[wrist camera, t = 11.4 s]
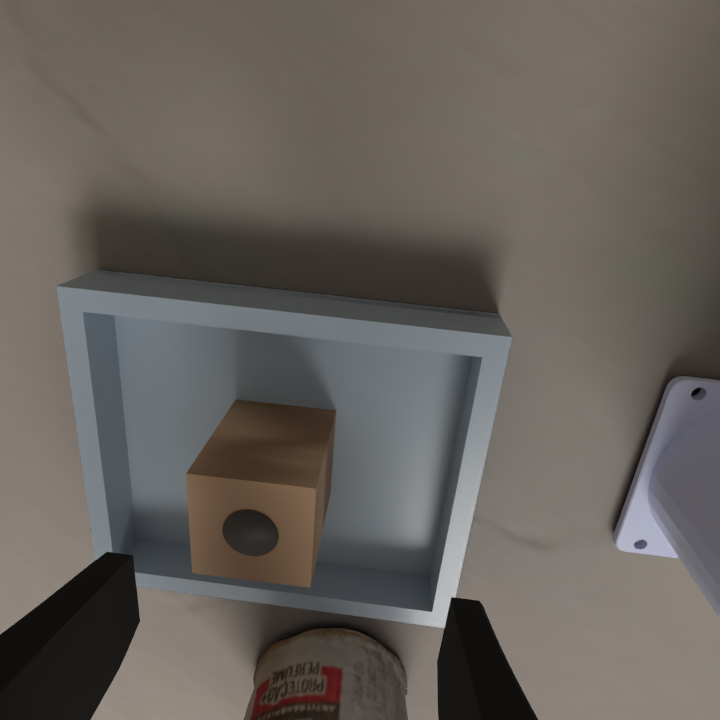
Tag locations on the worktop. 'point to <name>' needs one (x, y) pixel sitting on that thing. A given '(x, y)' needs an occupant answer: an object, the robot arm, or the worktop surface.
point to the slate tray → (297, 388)
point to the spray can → (328, 679)
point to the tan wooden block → (262, 493)
